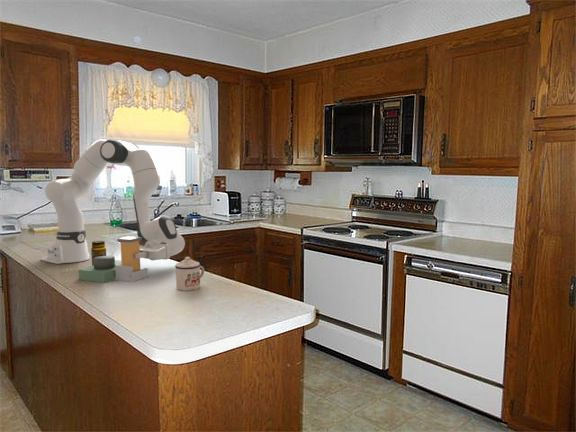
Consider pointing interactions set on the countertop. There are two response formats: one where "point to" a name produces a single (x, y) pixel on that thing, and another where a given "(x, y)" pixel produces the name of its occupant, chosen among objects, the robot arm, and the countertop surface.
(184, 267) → the teacup with lid
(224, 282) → the countertop surface
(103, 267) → the green base with knob
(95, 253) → the condiment
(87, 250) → the robot arm
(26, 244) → the countertop surface
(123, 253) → the gray-capped orange pillar
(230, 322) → the countertop surface
